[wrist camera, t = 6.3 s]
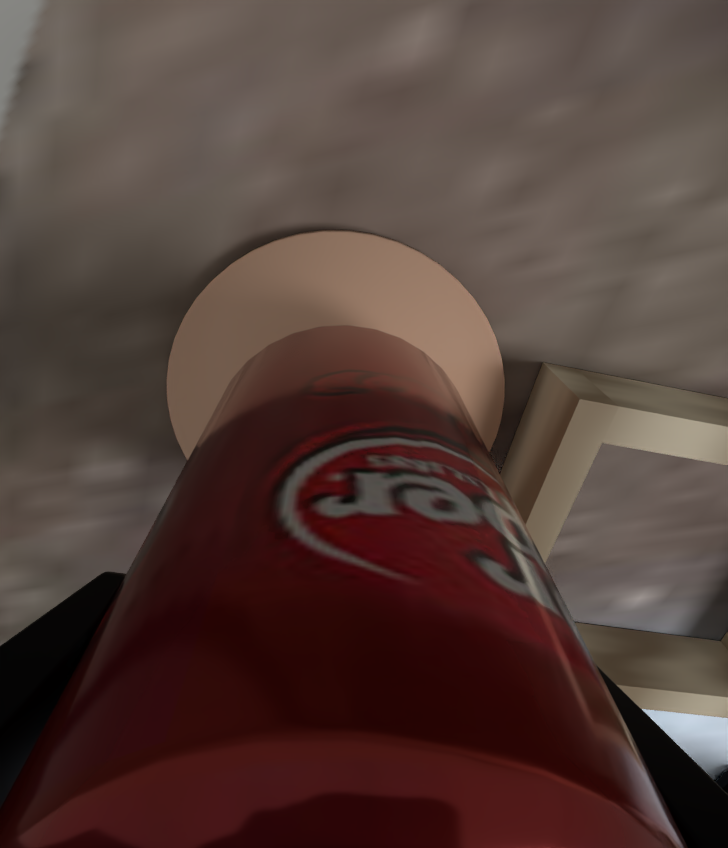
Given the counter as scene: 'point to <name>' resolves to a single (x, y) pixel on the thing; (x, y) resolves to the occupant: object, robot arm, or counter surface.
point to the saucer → (331, 319)
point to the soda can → (337, 643)
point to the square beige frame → (558, 488)
